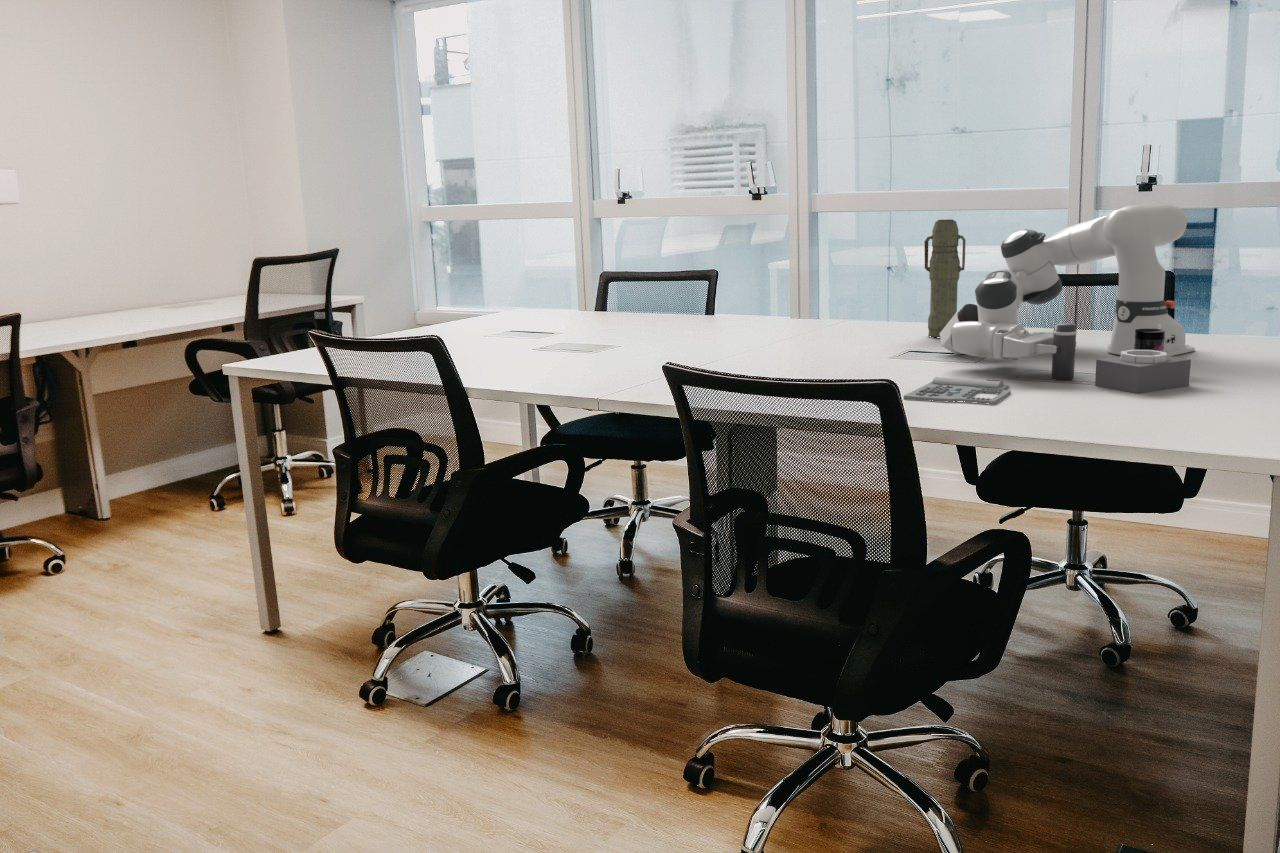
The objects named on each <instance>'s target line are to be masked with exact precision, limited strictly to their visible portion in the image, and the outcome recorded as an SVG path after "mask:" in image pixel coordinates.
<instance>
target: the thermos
mask: <svg viewBox="0 0 1280 853" xmlns="http://www.w3.org/2000/svg"><path fill="white" fill-rule="evenodd" d="M959 230H960V229H959V227H958V223H957V221H956V220H955V219H938V220H936V221H935V222H934V225H933V228H932V233H931V235H930V236H927V237H926V239H925V240H924V269H925V270H926V271H927V272H928V276H929V277H928V278H929V282H930V306H929V309H930V311H929V315H928V318H927V322H928V323H927V328H928V336H931V337H940V332H941V331H942V330H943V328H944V327H945V326H946V325H947V323H948V322H949V321H950V320H951V318H952V317H953V316H954V315H955V313H956V312H958V286H959V285H958V282H959V280H960V273H961V272H962V271H965V265H966V262H965V261H966V238H965V237H964V236H963V235H960V234H959ZM960 239H961V240H962V256H961V257H962V258H961V260H962V261H960V257H959V250H958V246H959V240H960ZM930 240H931V246H932V251H931V257H930V260H929V241H930ZM960 262H961V263H960ZM961 264H962V265H961ZM931 337H930V338H931Z"/></svg>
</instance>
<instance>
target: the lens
mask: <svg viewBox="0 0 1280 853" xmlns="http://www.w3.org/2000/svg"><path fill="white" fill-rule="evenodd" d="M1052 332H1053V345H1057V346H1058V347H1059V349H1058V352H1057V353H1052V355H1051V356H1052V359H1051V360H1052V361H1051V378H1052V379H1051V380H1053V379H1056V380H1055V381H1059V380H1069V381H1073V380H1072V379H1075V362H1076V360H1075V359H1076V347H1075V345H1076V346H1077V334H1078V332H1077V324H1076V323H1071V322H1060V323H1059V322H1058V323H1054V324H1053V330H1052Z"/></svg>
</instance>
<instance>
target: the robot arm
mask: <svg viewBox="0 0 1280 853" xmlns="http://www.w3.org/2000/svg"><path fill="white" fill-rule="evenodd" d="M1187 221H1188V220H1187V216H1186V214H1185V212H1184V211H1183V210H1182V209H1181V208H1180V207H1178V206H1175V205H1172V204H1167V203H1149V204H1147V203H1146V204H1136V205H1135V204H1132V205H1126V206H1123V207H1120V208H1117V209H1116V210H1114V211H1111V212H1110V213H1109V214H1107V215H1104V216H1099V217H1097V218H1093V219H1090V220H1086V221H1083V222H1079V223H1075V224H1073V225H1071V226H1067V227H1066V228H1065V227H1064V228H1063V229H1061V230H1059V231H1057V232H1055V233H1053V234H1051V235H1050V236H1049V237H1047V238H1046V236H1047V235H1046V233H1044V232H1038V231H1036V230H1033V229H1027V228H1026V229H1022V230H1018V231H1015V232H1013V233H1011V234H1010V235H1008V236H1007V237H1006V238H1005V239H1004V240H1003V241H1002V243H1001V245H1000V250H1001V255H1002V258H1004V259H1005V262H1006V265H1007V268H1008V269H1007V268H1003V269H998V270H995V271H992V272H990V273H988V274H987V275H986V278H985V279H984V280H982V281H980V283H979V284H978V285H977V286H976V287H975V289H974V293H975V294H974V295H975V300H976V305H977V309H978V321H963V322H956V323H955V324H954V325H953V327H952V329H951V345H952V348H953V349H954V350H955V351H956V352H959V353H960V354H964V355H967V356H972V357H982V358H985V357H993V359H994V360H1007V361H1008V360H1009V361H1018V360H1020V359H1023V358H1025V359H1026V358H1030V357H1033V356H1036V355H1041V354H1053V353H1057V352H1058V349H1059V347H1058V346H1057V345H1053V331H1052V332H1051V331H1035V332H1029V330H1026V328H1025V327H1024V326H1023V325H1022V324H1019V314H1018V311H1019V310H1020V308H1021V306H1022V303H1027V304H1030V305H1044V304H1046V303H1049V302H1051V301H1054V299H1055V298H1057V297H1058V296H1059V295H1060V294H1061V292H1062V291H1063V284H1062V279H1061V277H1060V276H1059V275H1058V272H1057V269H1056V267H1055V266H1059V267H1060V266H1061V267H1064V266H1066V267H1067V266H1068V267H1069V266H1075V265H1076V266H1078V265H1083V264H1087V263H1091V262H1094V261H1098V260H1099V261H1100V260H1102V259H1107V258H1110V257H1116V262H1117V266H1118V290H1117V291H1118V292H1117V293H1118V294H1117V299H1116V301H1115V306H1114V307H1115V310H1114V311H1115V313H1116V317H1115V319H1114V322H1113V327H1112V333H1111V338H1110V339H1111V340H1110V344H1108V345H1107V351H1108V353H1109V354H1112V355H1113V354H1114V355H1119V356H1121V351H1127V350H1134V338H1135V337H1134V336H1135V330H1136V329H1161V330H1165V343H1164V352H1166V354H1167V356H1171V357H1174V356H1178V355H1181V354H1187V353H1191V352H1195V351H1196V348H1195V346H1193V345H1189V344H1186V331H1185V328H1184V327H1183V326H1182V325H1181V324H1180V323H1178V322H1177V320H1175V319H1174V318H1173V317H1172V316H1171V315H1169V310H1168V309H1172V310H1173V309H1175V307H1176V301H1174V300H1165V299H1164V298H1165V284H1166V270H1165V268H1164V266H1163V265H1162V264H1161V263H1160V262H1159V260H1158V257H1157V250H1156V248H1157V247H1162V246H1165V245H1168V244H1170V243H1173V242H1175V241H1177V240H1179V239H1180V238H1181V237H1183V235H1184V234H1185V231H1186V230H1187V226H1188V222H1187ZM1075 348H1077V344H1076V345H1075Z"/></svg>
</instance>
